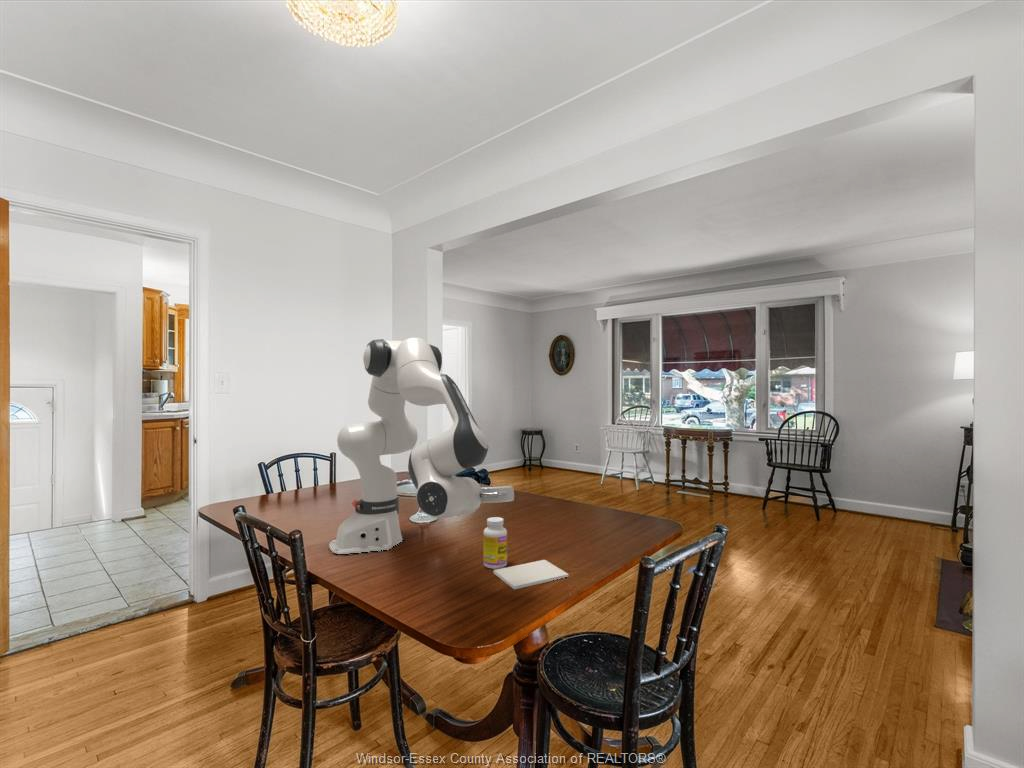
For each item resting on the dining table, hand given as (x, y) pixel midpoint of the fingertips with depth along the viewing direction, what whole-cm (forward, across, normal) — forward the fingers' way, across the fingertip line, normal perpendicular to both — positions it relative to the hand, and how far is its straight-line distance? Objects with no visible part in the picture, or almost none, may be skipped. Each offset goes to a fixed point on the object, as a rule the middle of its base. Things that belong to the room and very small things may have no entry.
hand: (484, 494), depth 130 cm
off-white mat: (+8, -9, +22) cm, 25 cm away
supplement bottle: (+12, +2, +20) cm, 23 cm away
